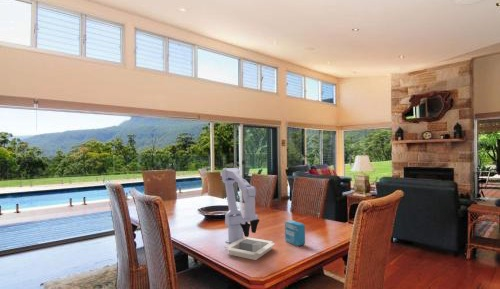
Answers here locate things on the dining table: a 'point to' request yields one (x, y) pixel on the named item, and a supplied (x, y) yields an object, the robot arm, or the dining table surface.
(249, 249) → the box
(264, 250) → the cream square frame
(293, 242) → the data package
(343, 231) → the dining table surface
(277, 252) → the dining table surface
